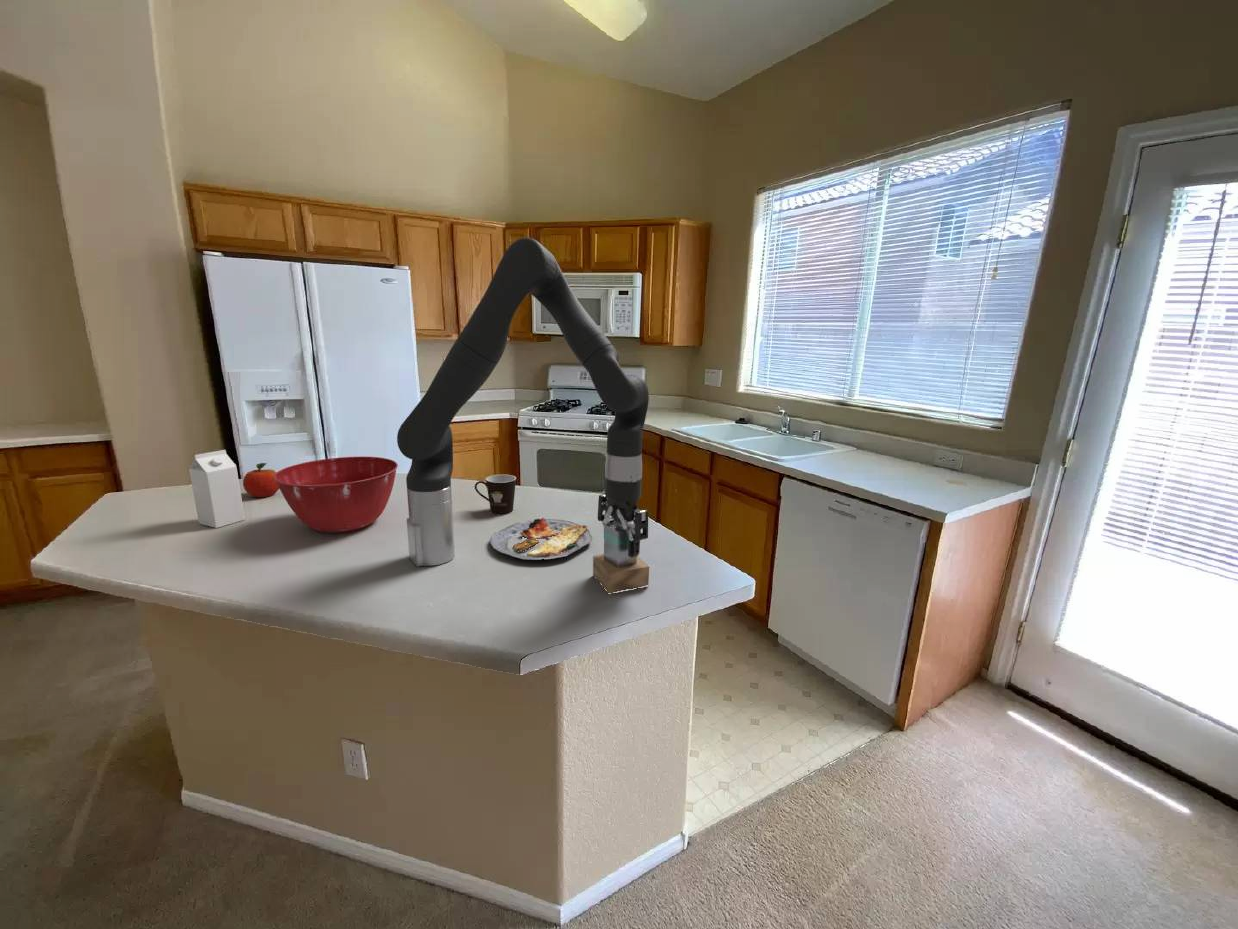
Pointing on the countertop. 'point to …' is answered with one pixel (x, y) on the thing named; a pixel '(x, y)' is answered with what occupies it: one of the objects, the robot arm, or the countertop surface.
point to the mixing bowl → (338, 491)
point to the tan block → (620, 574)
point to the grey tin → (617, 545)
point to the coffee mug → (500, 493)
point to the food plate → (542, 529)
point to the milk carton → (216, 489)
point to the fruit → (260, 482)
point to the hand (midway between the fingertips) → (620, 549)
